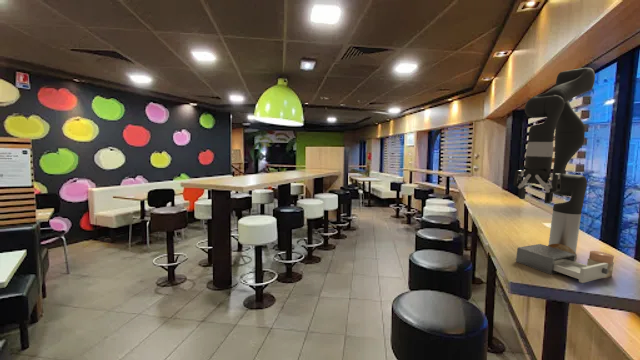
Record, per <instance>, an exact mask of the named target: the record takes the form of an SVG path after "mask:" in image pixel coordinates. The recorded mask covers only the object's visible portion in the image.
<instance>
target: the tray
mask: <svg viewBox="0 0 640 360" xmlns="http://www.w3.org/2000/svg"><path fill="white" fill-rule="evenodd" d="M607 267H608V263H600V264H595V265H591V266H588V265H587V264H583V263H580V262H579V261H578V262H577V261H572V260H568V259H565V258H561V259H556V260H555V262H554V269H553V270H554V271H557V272H560V273H559V274H563V275H565V276H566V275H567V276H569V277H571V278H574V279H578V283H580V284H584V283H588V282H591V281H595V280H600V279H604V278H603V277H606V274H608V272H609V270H608V269H607Z"/></svg>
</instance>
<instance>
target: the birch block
mask: <svg viewBox="0 0 640 360" xmlns="http://www.w3.org/2000/svg"><path fill="white" fill-rule="evenodd" d="M614 263H615V261H613V264H608V267H607V269H608V270H609V272H608V274H606V277H603V278H602V279H607V278H610V277H613V271H614ZM595 264H600V262H596V261H593V260H591V259H589V258H587V262H586V265H588V266H591V265H595Z"/></svg>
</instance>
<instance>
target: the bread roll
mask: <svg viewBox="0 0 640 360" xmlns="http://www.w3.org/2000/svg"><path fill="white" fill-rule="evenodd" d="M547 246H549V247H552V248H556V249H559V250H563V251H566V252H570V253H573V254H575V252H574V251H573V250H572V249H571V248H570V247H569V246H565V245H563V244H551V245H549V244H548V245H547ZM576 259H577V256H576Z"/></svg>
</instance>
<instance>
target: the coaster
mask: <svg viewBox="0 0 640 360" xmlns="http://www.w3.org/2000/svg"><path fill="white" fill-rule="evenodd" d="M588 257H589V258H588V259H591V260H593V261H596V262H600V263H608V264H613V262H614V258H615V256H614V255H613V254H611V253H607V252H603V251H598V250H590V251H589V255H588Z"/></svg>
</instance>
